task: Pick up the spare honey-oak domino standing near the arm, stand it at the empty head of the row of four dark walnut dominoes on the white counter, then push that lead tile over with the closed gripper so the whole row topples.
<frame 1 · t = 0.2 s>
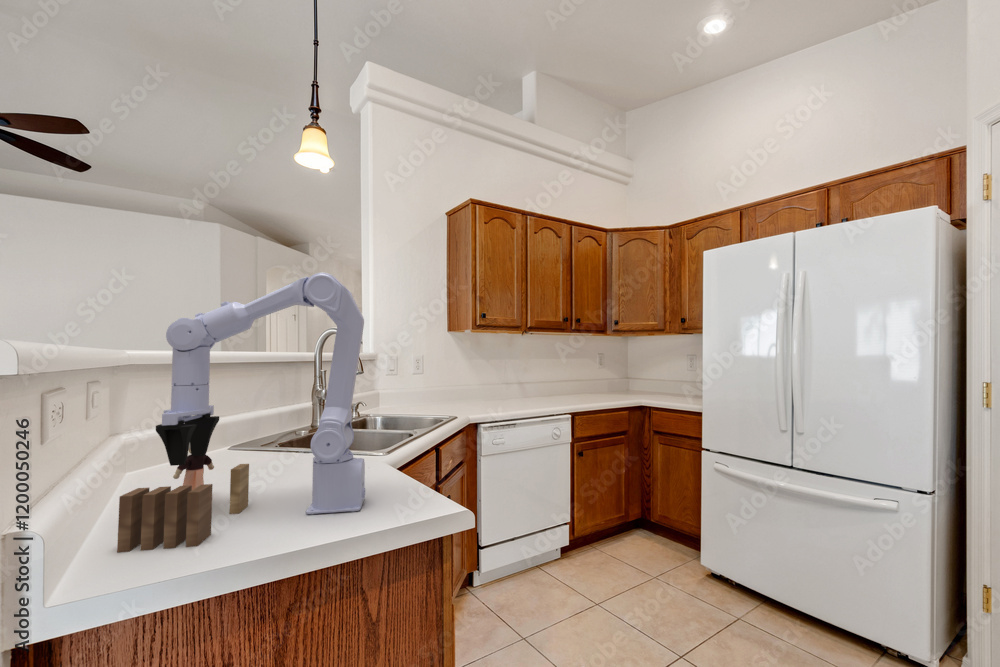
hand: (188, 460, 81), 10 cm above the worktop, fingers open, 7 cm apart
grandmother figurine: (194, 501, 89), on the worktop
domino 2: (198, 540, 69), on the worktop
domino 5: (132, 545, 67), on the worktop
domino 4: (155, 544, 67), on the worktop
domino 1: (239, 509, 83), on the worktop
domino 3: (177, 542, 68), on the worktop
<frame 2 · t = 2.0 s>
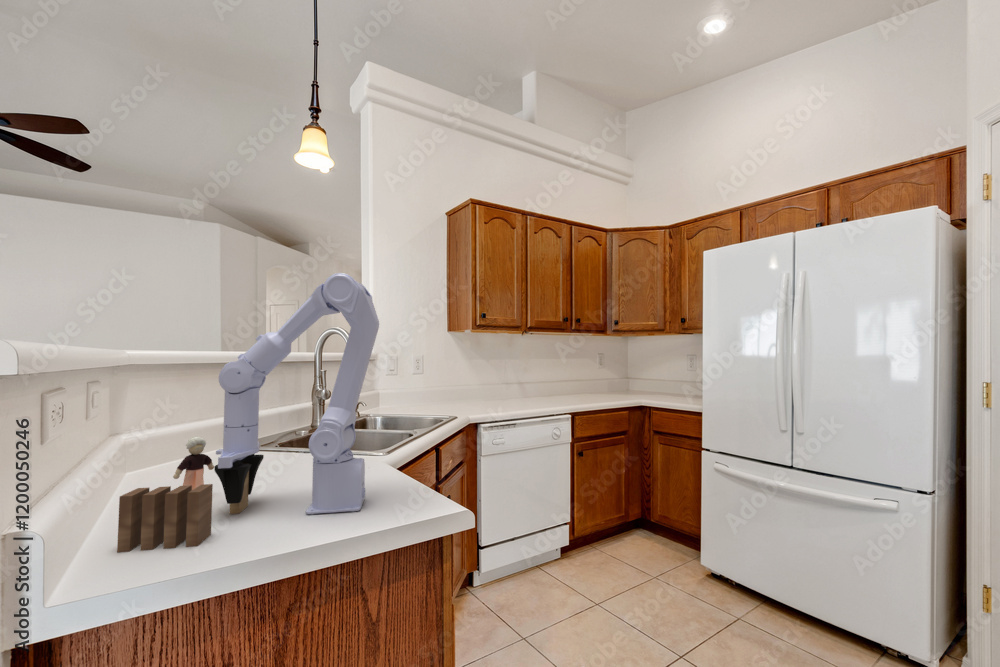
hand: (239, 498, 83), 2 cm above the worktop, fingers closed on domino 1, 4 cm apart
domino 1: (239, 509, 83), on the worktop, touching gripper
everything else where it was.
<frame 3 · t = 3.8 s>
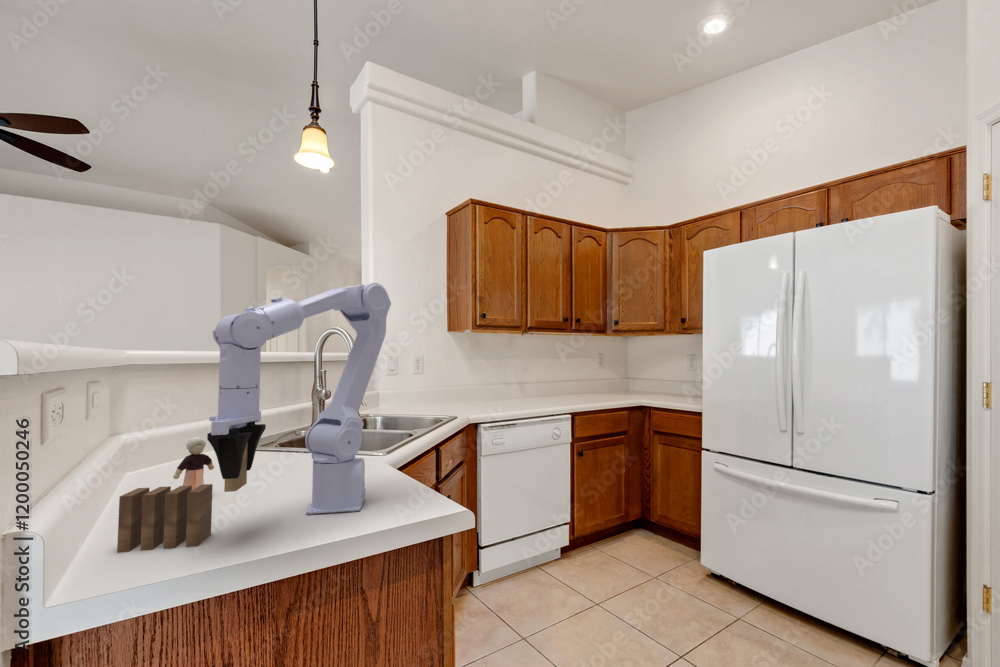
hand: (237, 474, 70), 10 cm above the worktop, fingers closed on domino 1, 4 cm apart
domino 1: (235, 487, 70), point 8 cm above the worktop, touching gripper
everything else where it was.
when the fingers open (2 cm above the worktop, at t = 5.6 s): domino 1 stays where it is, on the worktop.
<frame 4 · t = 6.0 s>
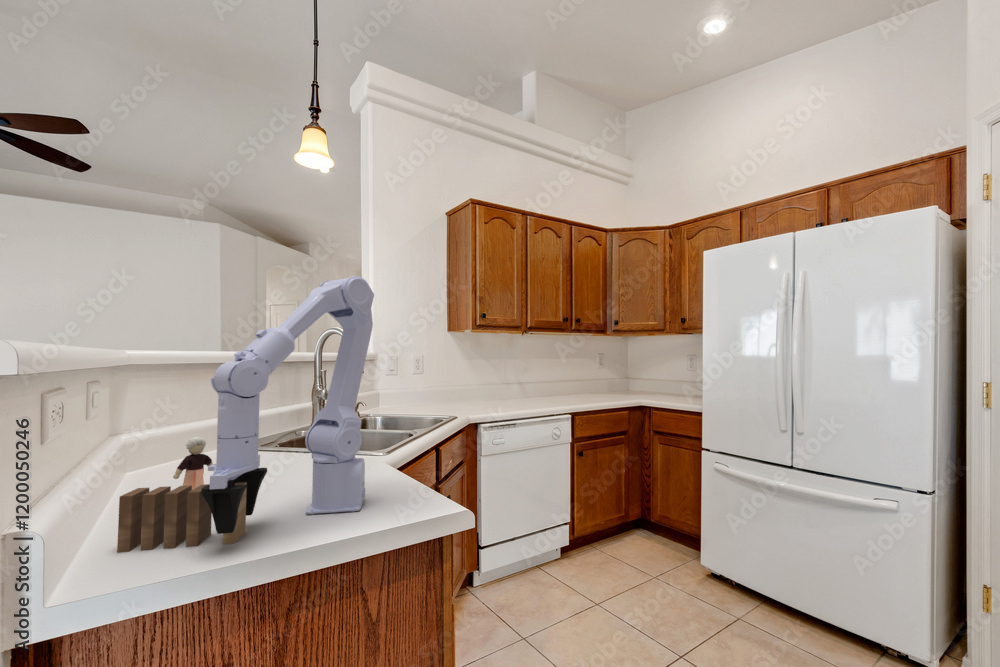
hand: (235, 523, 70), 2 cm above the worktop, fingers open, 7 cm apart
domino 1: (234, 538, 70), on the worktop
everything else where it was.
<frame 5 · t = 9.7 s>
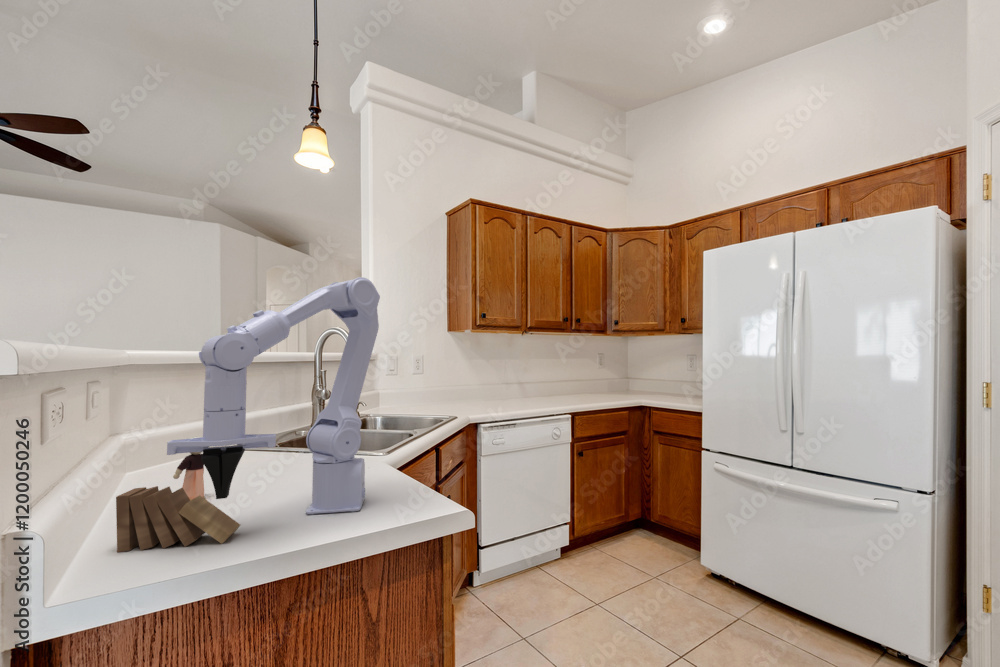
hand: (222, 497, 70), 6 cm above the worktop, fingers closed
domino 2: (197, 538, 69), on the worktop, tilted 30°, touching domino 1
domino 4: (155, 542, 68), on the worktop, tilted 13°
domino 1: (231, 534, 70), point 1 cm above the worktop, tilted 50°, touching domino 2
domino 3: (176, 540, 68), on the worktop, tilted 22°
everything else where it was.
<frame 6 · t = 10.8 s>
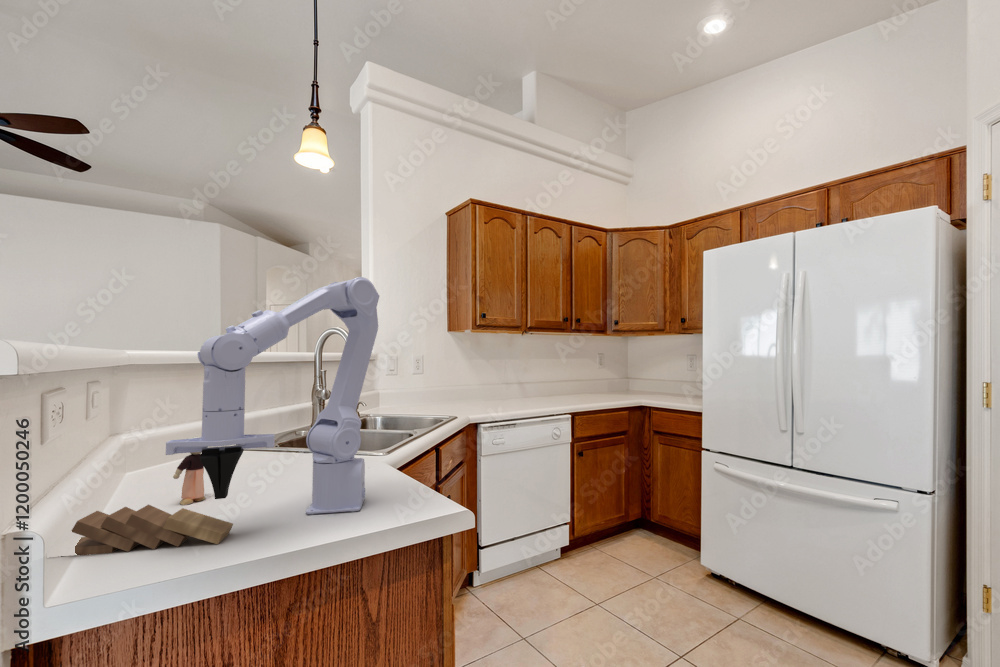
hand: (221, 497, 70), 6 cm above the worktop, fingers closed
domino 2: (188, 536, 68), point 1 cm above the worktop, tilted 61°, touching domino 1, domino 3
domino 5: (121, 544, 67), on the worktop, tilted 90°, touching domino 4
domino 4: (139, 540, 67), point 1 cm above the worktop, tilted 63°, touching domino 5
domino 1: (225, 533, 69), point 1 cm above the worktop, tilted 68°, touching domino 2
domino 3: (165, 538, 68), point 1 cm above the worktop, tilted 61°, touching domino 2
everything else where it was.
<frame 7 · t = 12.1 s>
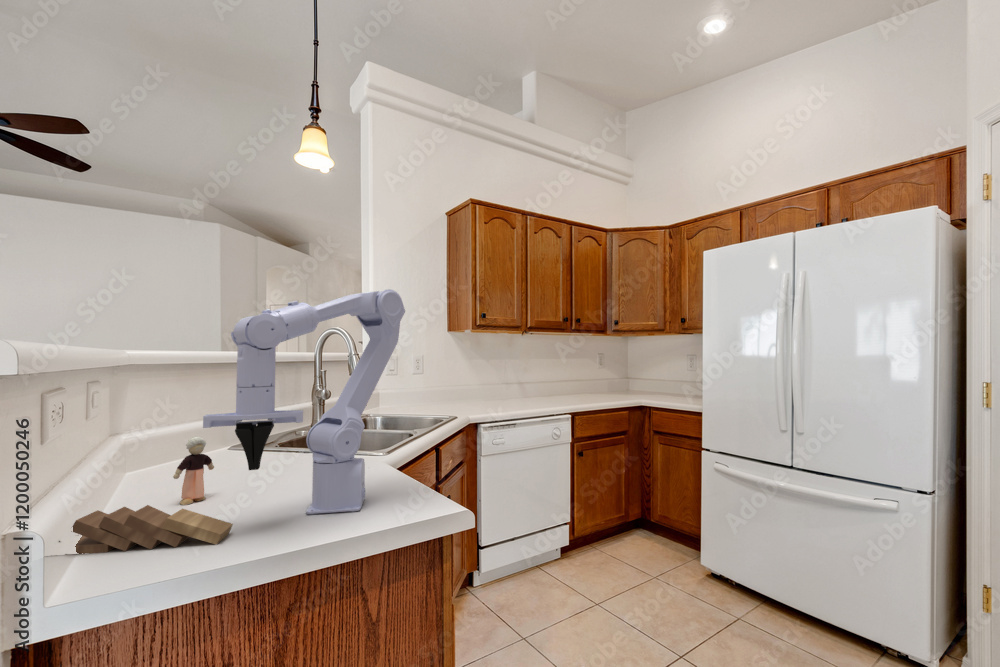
hand: (254, 468, 74), 10 cm above the worktop, fingers closed
domino 2: (186, 536, 68), point 1 cm above the worktop, tilted 61°, touching domino 1, domino 3
domino 4: (137, 540, 67), point 1 cm above the worktop, tilted 64°, touching domino 3, domino 5
domino 3: (162, 538, 68), point 1 cm above the worktop, tilted 61°, touching domino 2, domino 4
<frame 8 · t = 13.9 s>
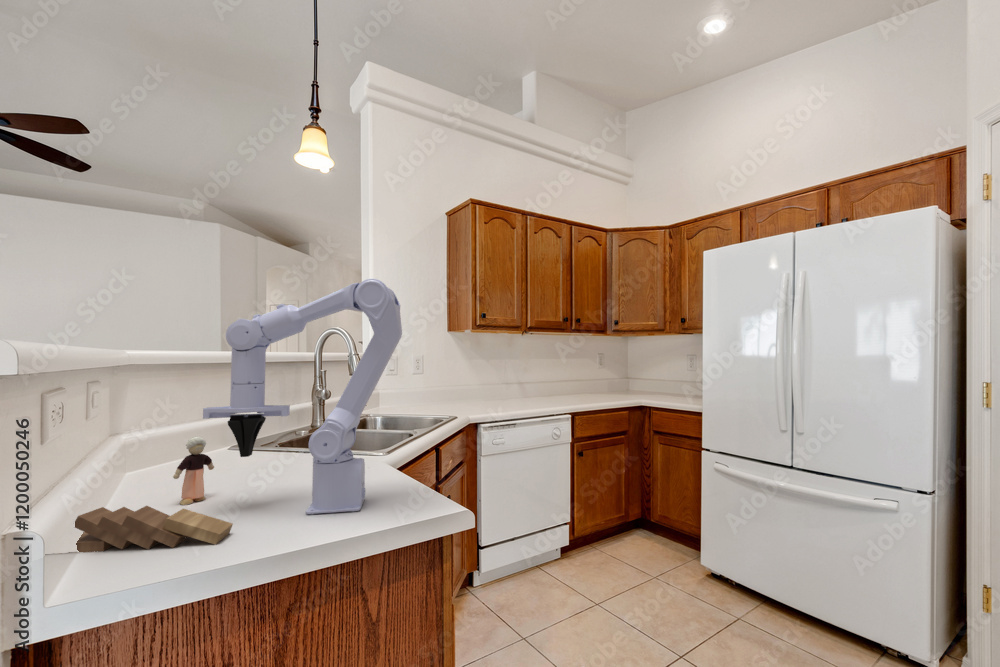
hand: (246, 455, 84), 10 cm above the worktop, fingers closed
domino 2: (184, 537, 68), point 1 cm above the worktop, tilted 62°, touching domino 1, domino 3
at the end: domino 5 tilted 90°; domino 1 tilted 69°; domino 1 inside the target area (0.1 cm from its centre), point 0.7 cm above the worktop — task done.
